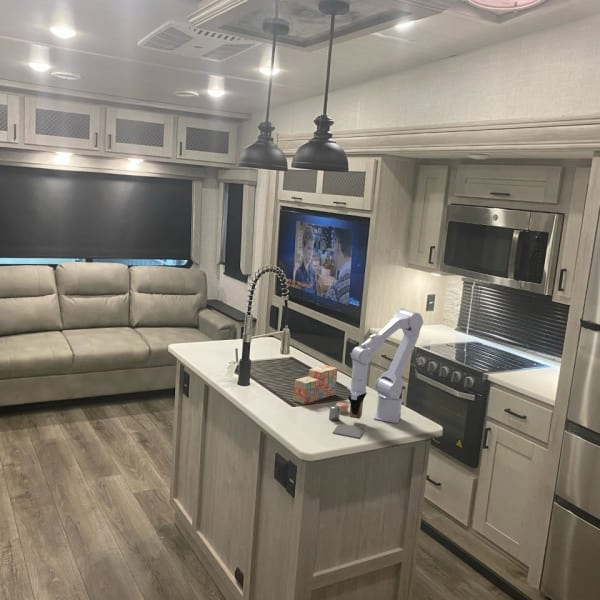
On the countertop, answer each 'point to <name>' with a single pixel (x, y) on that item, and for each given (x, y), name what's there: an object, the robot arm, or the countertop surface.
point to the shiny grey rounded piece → (334, 413)
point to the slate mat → (349, 430)
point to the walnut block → (358, 412)
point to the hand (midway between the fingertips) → (355, 412)
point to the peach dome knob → (343, 407)
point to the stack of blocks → (316, 384)
